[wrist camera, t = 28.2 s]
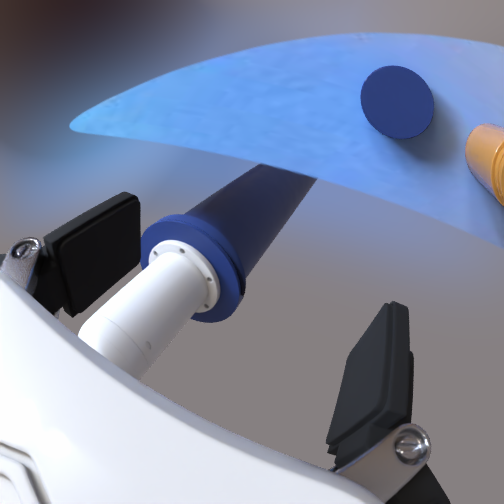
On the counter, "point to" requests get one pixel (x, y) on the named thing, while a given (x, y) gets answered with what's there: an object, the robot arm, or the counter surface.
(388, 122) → the jar lid
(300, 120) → the counter surface
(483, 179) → the jam jar
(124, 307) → the robot arm
